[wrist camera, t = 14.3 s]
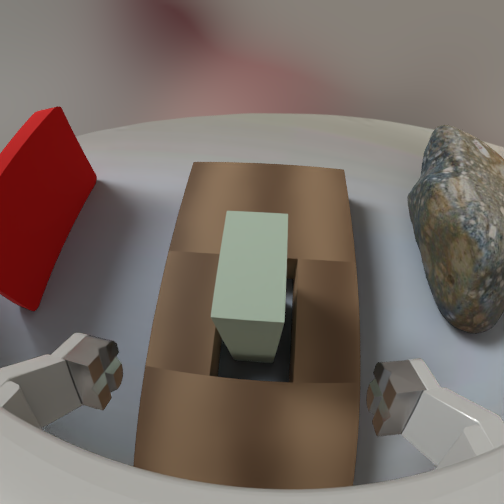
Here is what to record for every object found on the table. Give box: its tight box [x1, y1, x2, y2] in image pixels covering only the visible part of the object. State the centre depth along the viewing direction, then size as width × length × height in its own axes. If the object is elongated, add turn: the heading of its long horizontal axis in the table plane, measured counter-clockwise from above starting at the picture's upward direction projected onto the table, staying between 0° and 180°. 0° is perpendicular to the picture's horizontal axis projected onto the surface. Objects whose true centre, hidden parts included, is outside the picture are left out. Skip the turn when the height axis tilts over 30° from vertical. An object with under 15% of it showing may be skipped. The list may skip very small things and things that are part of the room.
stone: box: [408, 125, 504, 333], centre depth 19 cm, size 14×19×8 cm
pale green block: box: [211, 211, 288, 363], centre depth 15 cm, size 2×4×10 cm, turn 175°
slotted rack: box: [134, 162, 360, 489], centre depth 18 cm, size 12×24×3 cm, turn 175°
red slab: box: [0, 107, 97, 311], centre depth 19 cm, size 15×3×10 cm, turn 170°
